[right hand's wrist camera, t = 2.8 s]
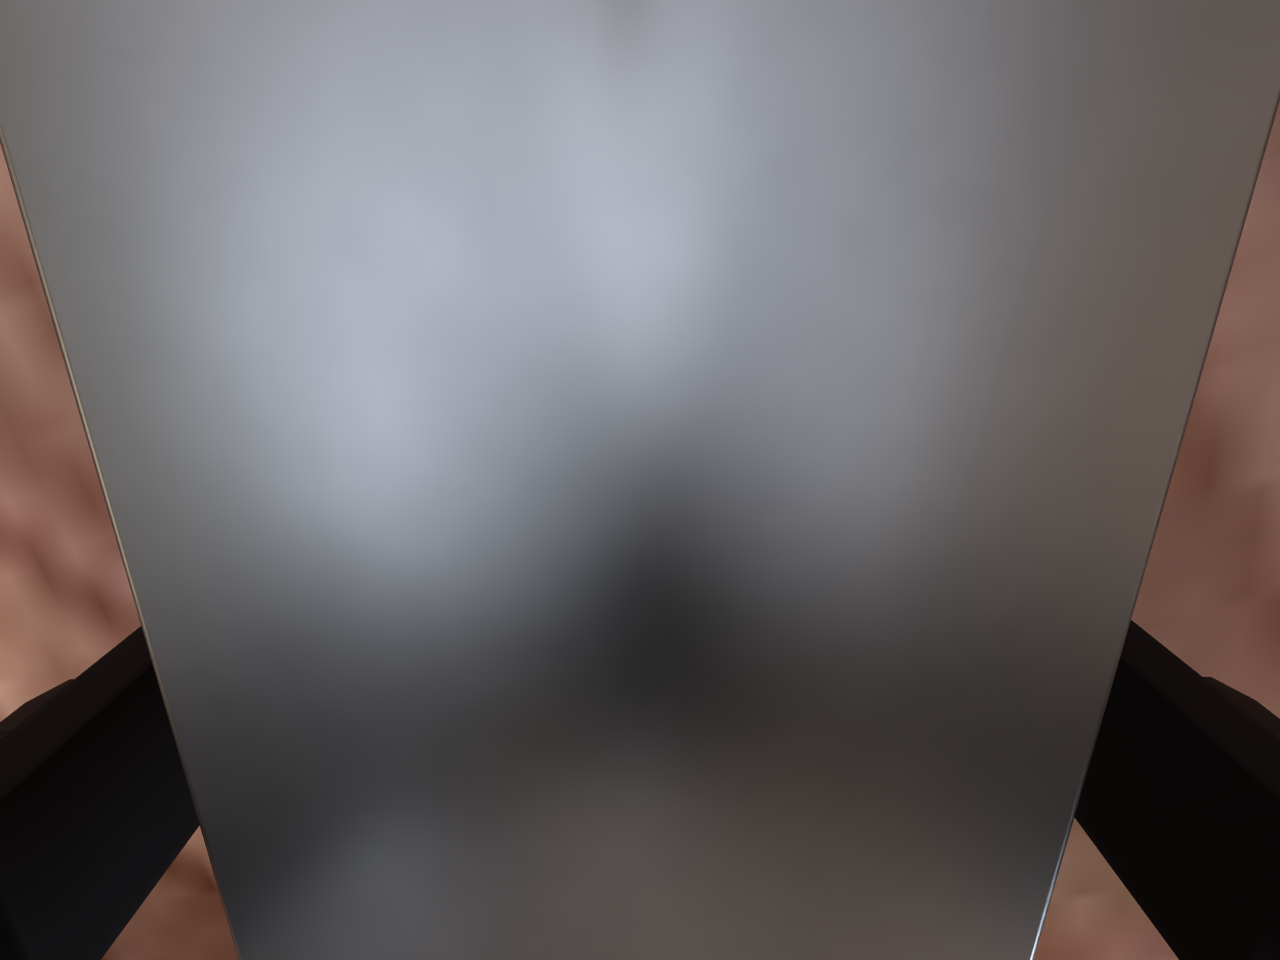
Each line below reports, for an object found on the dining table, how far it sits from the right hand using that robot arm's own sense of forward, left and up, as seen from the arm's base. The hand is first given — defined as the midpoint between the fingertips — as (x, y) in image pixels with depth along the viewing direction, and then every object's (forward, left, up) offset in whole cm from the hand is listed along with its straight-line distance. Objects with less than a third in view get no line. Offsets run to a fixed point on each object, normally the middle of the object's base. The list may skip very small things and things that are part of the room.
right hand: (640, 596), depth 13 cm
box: (+8, 0, -4) cm, 9 cm away
